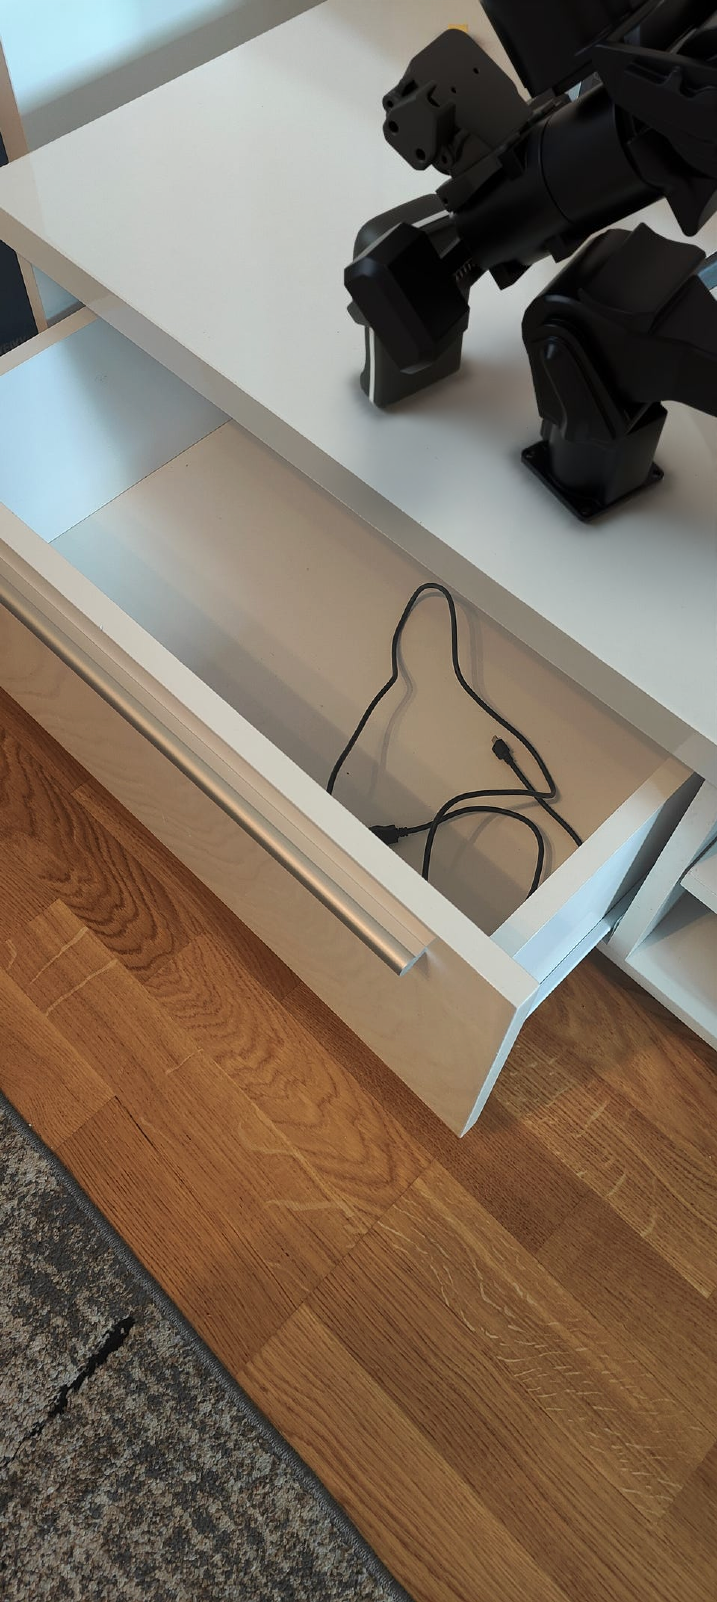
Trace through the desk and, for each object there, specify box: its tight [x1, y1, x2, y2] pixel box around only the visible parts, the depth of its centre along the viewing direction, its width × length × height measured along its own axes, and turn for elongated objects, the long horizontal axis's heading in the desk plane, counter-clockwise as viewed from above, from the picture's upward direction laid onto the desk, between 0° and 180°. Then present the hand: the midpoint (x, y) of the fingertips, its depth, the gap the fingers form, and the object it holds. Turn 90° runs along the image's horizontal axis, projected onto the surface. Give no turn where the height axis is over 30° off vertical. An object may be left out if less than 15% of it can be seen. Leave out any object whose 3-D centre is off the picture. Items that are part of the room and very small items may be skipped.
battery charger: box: [351, 193, 471, 409], centre depth 68 cm, size 7×4×11 cm, turn 125°
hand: (389, 279), depth 68 cm, fingers closed on battery charger, 7 cm apart
